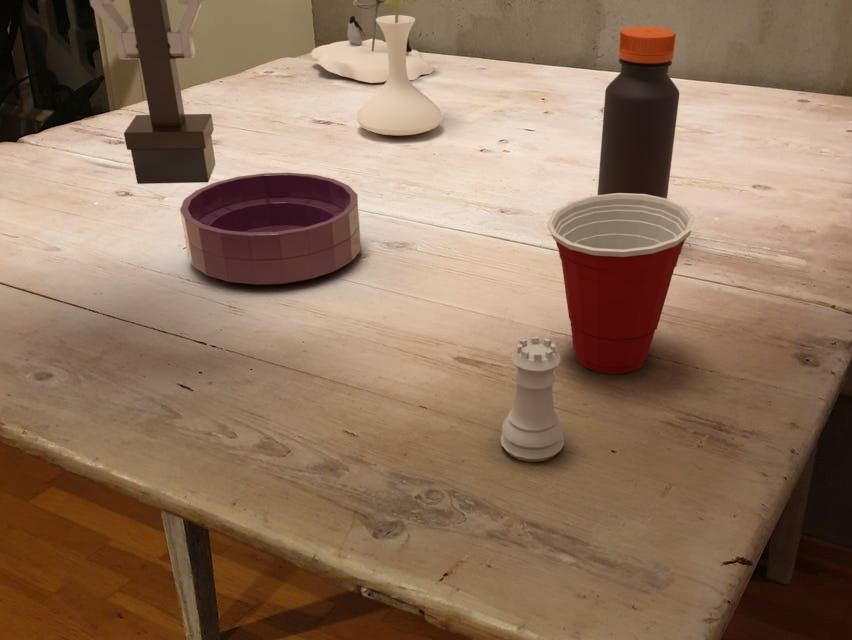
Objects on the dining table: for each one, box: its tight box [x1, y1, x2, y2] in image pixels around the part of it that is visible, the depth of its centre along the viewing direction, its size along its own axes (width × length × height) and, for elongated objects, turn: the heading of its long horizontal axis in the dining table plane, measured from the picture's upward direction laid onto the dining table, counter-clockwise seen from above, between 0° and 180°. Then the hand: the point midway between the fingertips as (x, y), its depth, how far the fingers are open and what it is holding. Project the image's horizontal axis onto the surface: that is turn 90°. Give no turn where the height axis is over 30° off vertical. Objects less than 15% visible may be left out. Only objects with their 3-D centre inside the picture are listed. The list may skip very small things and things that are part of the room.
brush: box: [123, 0, 216, 185], centre depth 67 cm, size 5×4×13 cm
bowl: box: [179, 172, 362, 286], centre depth 93 cm, size 16×16×6 cm
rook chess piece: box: [500, 336, 565, 463], centre depth 65 cm, size 4×4×8 cm
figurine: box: [309, 0, 434, 84], centre depth 151 cm, size 20×18×16 cm
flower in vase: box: [355, 0, 444, 136], centre depth 122 cm, size 13×11×25 cm
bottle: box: [596, 26, 680, 199], centre depth 92 cm, size 7×7×20 cm
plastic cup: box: [546, 193, 695, 375], centre depth 75 cm, size 11×11×12 cm
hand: (157, 57), depth 66 cm, fingers closed on brush, 2 cm apart
